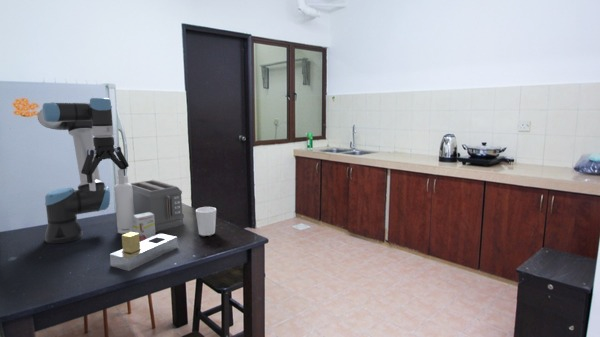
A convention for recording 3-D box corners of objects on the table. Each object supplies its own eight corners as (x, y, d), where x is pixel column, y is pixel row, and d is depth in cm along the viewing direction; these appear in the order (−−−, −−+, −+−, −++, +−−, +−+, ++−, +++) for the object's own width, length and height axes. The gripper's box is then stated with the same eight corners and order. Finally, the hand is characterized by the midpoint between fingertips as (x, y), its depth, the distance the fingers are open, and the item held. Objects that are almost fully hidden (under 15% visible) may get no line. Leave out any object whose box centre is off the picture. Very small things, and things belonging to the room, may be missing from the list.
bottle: (139, 229, 189) (135, 175, 184) (125, 234, 181) (121, 178, 177) (127, 227, 192) (123, 174, 187) (114, 232, 185) (109, 176, 180)
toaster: (154, 233, 183) (151, 193, 179) (124, 219, 205) (121, 183, 201) (187, 224, 197) (185, 187, 193) (156, 212, 219) (154, 178, 215)
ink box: (138, 242, 171) (136, 217, 169) (133, 239, 175) (131, 215, 173) (156, 237, 177) (154, 213, 175) (151, 235, 181) (150, 211, 179)
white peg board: (110, 266, 146) (109, 254, 145) (160, 243, 169) (160, 233, 168) (128, 270, 142) (127, 258, 141) (177, 247, 165) (177, 236, 164)
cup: (202, 239, 175) (201, 213, 173) (193, 234, 182) (191, 209, 180) (221, 234, 181) (220, 209, 179) (211, 229, 188) (210, 205, 186)
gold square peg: (123, 263, 148) (121, 235, 146) (133, 259, 152) (131, 231, 150) (132, 265, 146) (129, 236, 144) (141, 261, 150) (139, 233, 148)
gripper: (80, 139, 138) (85, 194, 142) (135, 134, 160) (138, 182, 164) (67, 138, 141) (73, 192, 145) (122, 133, 164) (126, 180, 167)
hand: (107, 187), depth 155 cm, fingers open, 13 cm apart
